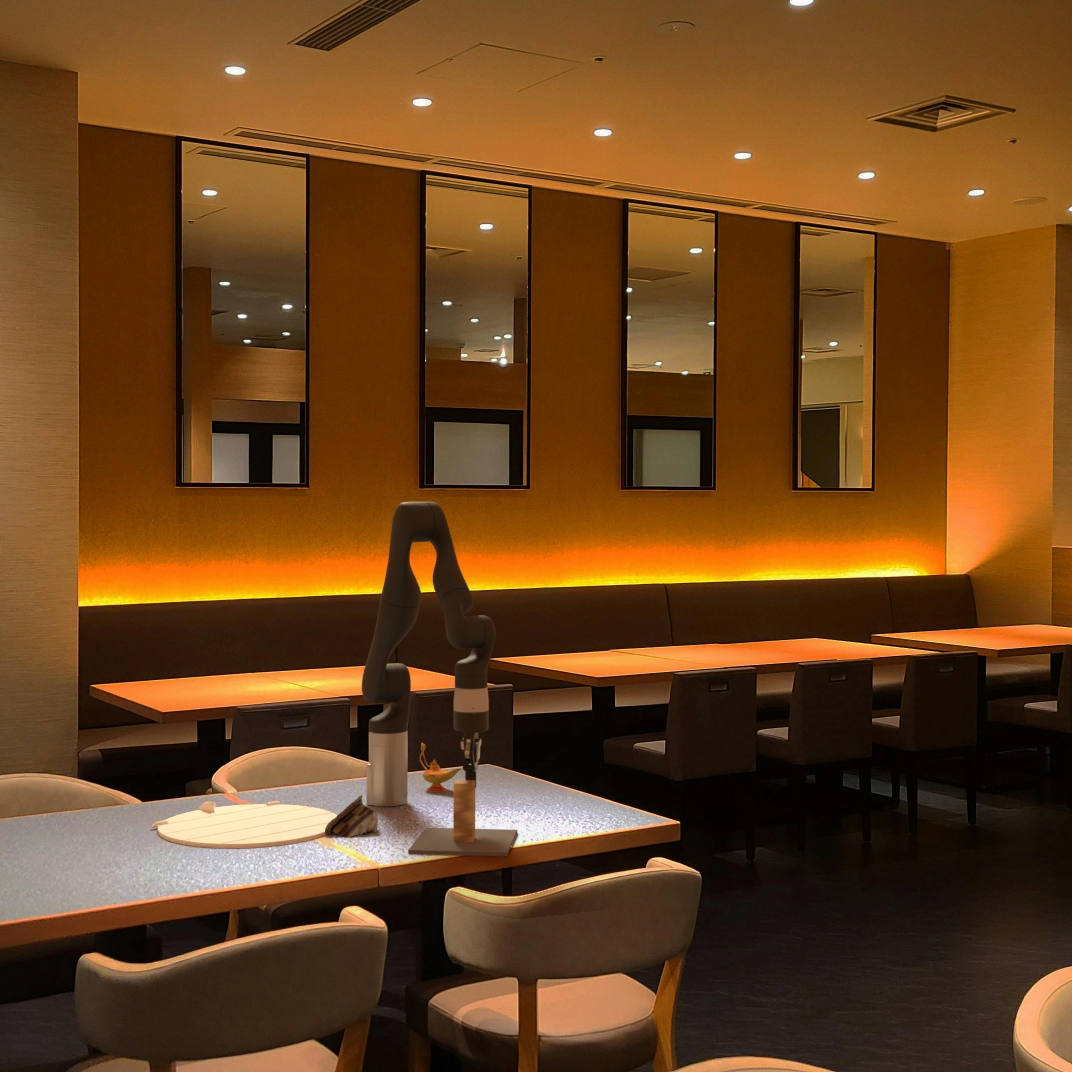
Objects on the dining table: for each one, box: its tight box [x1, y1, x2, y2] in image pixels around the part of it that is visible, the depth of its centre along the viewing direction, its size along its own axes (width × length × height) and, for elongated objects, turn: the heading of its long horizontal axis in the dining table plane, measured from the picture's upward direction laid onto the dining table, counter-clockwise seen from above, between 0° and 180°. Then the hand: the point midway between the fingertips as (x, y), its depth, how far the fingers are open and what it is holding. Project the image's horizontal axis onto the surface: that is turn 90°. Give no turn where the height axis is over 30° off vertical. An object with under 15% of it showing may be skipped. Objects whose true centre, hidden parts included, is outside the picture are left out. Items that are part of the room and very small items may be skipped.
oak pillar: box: [452, 779, 476, 842], centre depth 272 cm, size 4×4×12 cm
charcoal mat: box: [407, 827, 518, 857], centre depth 272 cm, size 20×20×1 cm
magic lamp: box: [419, 742, 463, 793], centre depth 328 cm, size 7×18×11 cm, turn 40°
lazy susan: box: [151, 800, 338, 849], centre depth 288 cm, size 40×39×3 cm
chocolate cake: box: [325, 794, 379, 838], centre depth 283 cm, size 10×7×12 cm
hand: (470, 788), depth 281 cm, fingers closed
